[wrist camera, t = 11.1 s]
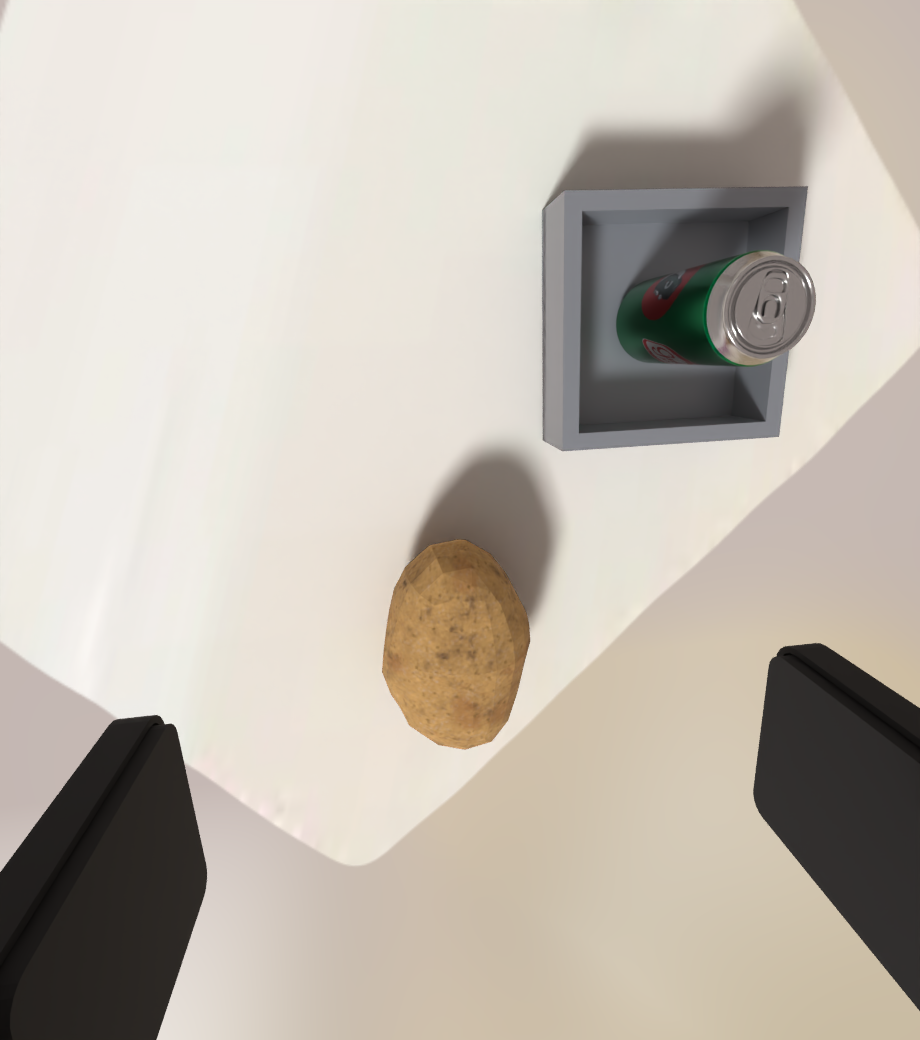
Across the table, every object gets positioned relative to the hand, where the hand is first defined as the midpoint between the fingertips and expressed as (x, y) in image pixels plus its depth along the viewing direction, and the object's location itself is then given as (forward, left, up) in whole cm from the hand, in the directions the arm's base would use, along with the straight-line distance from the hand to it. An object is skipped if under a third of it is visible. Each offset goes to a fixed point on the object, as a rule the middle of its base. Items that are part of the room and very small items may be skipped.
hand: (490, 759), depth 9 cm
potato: (+12, +2, -31) cm, 33 cm away
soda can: (-7, +16, -30) cm, 34 cm away
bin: (-7, +16, -30) cm, 35 cm away
